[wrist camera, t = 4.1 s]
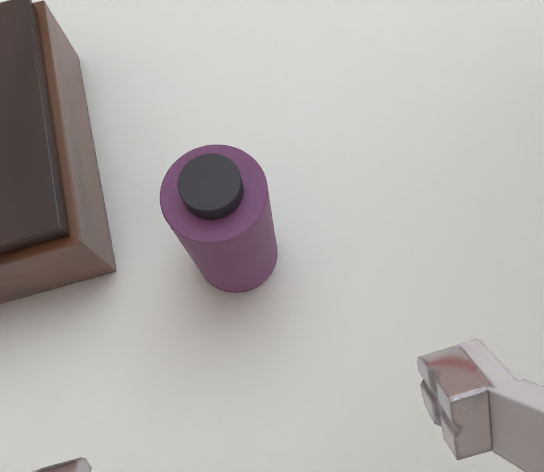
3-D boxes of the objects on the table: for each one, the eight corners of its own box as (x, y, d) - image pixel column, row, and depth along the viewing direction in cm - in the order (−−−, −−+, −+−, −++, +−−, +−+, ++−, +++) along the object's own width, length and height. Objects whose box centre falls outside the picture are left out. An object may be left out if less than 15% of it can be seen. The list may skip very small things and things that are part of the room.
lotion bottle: (265, 208, 30) (249, 119, 22) (286, 279, 29) (279, 216, 20) (190, 229, 30) (143, 148, 21) (208, 302, 29) (165, 248, 20)
